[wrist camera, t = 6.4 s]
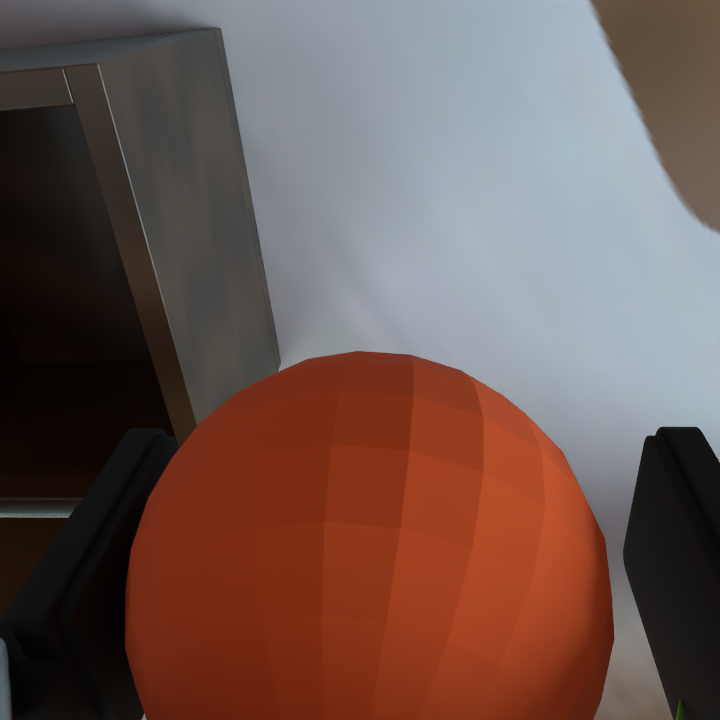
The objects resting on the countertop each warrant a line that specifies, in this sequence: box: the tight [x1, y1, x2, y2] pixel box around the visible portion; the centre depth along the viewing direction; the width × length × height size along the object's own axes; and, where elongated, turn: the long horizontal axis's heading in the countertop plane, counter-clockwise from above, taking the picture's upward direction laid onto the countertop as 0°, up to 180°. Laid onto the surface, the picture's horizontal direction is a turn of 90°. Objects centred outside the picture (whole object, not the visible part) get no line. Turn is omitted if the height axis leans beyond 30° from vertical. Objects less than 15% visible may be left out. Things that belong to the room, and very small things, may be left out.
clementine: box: [125, 351, 683, 720], centre depth 10 cm, size 8×7×7 cm
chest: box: [0, 28, 281, 515], centre depth 24 cm, size 15×14×10 cm
